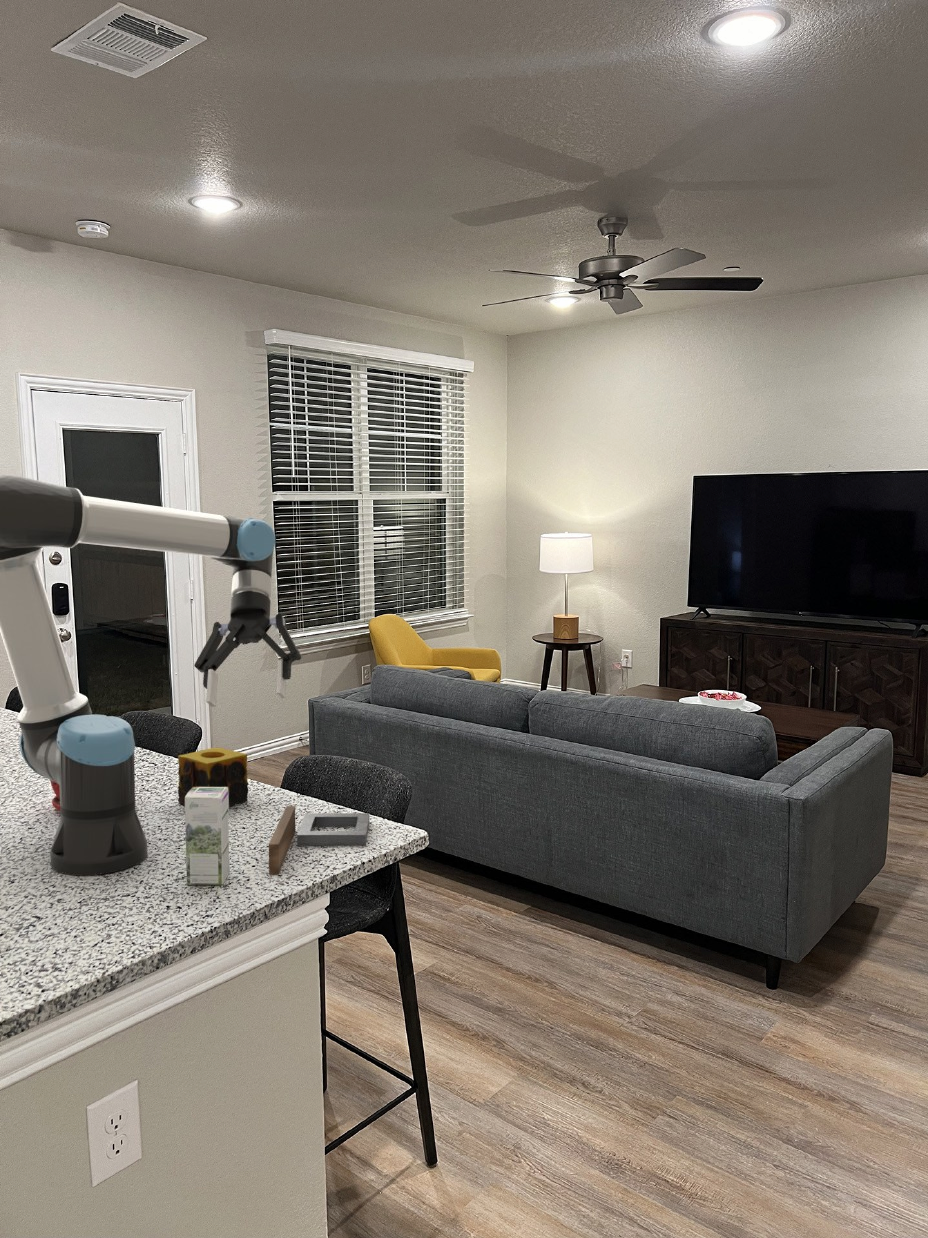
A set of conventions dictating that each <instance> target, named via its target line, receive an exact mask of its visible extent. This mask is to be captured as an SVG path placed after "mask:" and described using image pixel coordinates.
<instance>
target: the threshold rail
mask: <svg viewBox="0 0 928 1238" xmlns="http://www.w3.org/2000/svg"><path fill="white" fill-rule="evenodd" d="M276 825H277V826H276V827H275V829H274V831H273V834H272V837H271V839H270V841H269V843H268V874H269V875H280V872H281V870H282V868H283V865H284V862H285V860H286V857H287V855H288V853H289V850H290V848H291V844H292V842H293V840H294V838H295V835H296V805H286V806H285V808H284V811H283V812H282V814H281V817H280V819H279V821H278V823H277V824H276ZM293 837H294V838H293Z"/></svg>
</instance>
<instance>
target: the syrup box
mask: <svg viewBox="0 0 928 1238" xmlns="http://www.w3.org/2000/svg"><path fill="white" fill-rule="evenodd" d="M229 808H230V807H229V794H228V787H193V788H192V789H191V790H190V791H189V792H188V793H187V795H186V796H185V806H184V816H185V818H184V819H185V821H184V822H185V865H186V869H185V870H186V885H187V886H222V885H223V884H224V883H225V881H226V879H227V878H228V875H229V873H230V872H231V870H230V868H231V867H230V839H229V837H230V833H229V831H230V826H229V825H230V823H229V821H230V820H229V819H230V817H229V816H230V815H229V814H230V813H229V811H230V810H229Z"/></svg>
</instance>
